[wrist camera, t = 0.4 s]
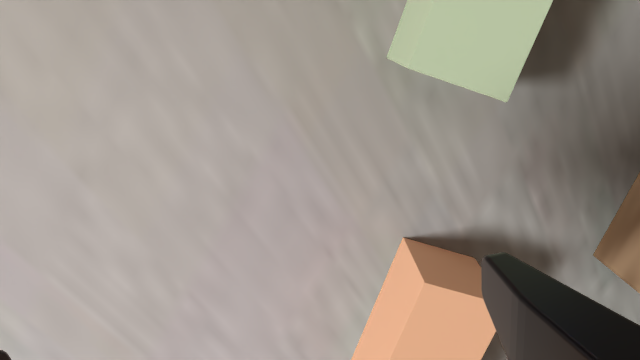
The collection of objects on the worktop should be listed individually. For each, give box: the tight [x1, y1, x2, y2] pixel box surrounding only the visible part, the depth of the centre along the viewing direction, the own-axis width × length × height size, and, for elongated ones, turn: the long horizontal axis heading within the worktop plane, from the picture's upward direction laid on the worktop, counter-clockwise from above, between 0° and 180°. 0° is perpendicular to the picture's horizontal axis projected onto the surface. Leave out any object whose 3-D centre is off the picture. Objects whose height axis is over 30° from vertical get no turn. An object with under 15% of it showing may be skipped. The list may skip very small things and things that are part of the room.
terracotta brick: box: [351, 237, 496, 360], centre depth 24 cm, size 8×4×4 cm, turn 162°
